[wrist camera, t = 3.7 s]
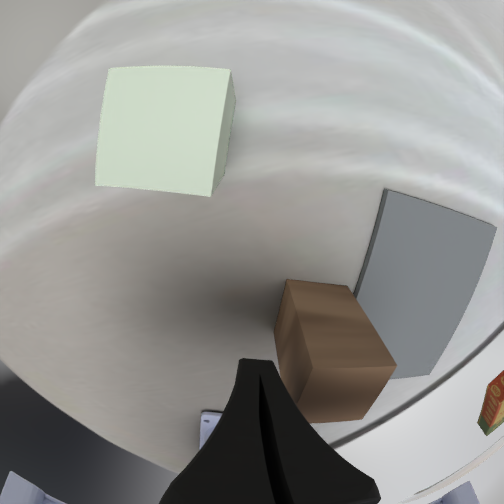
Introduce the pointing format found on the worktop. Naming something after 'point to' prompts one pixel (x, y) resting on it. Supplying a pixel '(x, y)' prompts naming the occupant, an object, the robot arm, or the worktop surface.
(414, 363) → the mat
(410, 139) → the worktop surface
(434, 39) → the worktop surface
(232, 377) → the worktop surface
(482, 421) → the carton
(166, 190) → the sage block
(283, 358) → the walnut block
